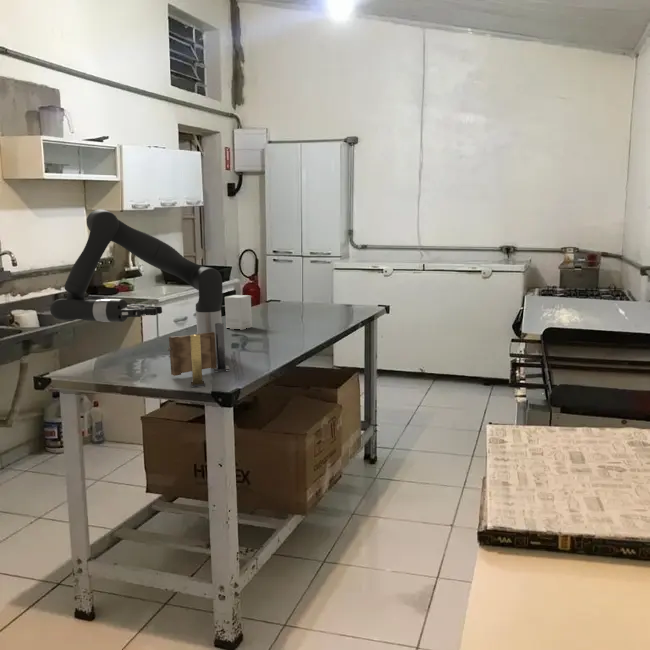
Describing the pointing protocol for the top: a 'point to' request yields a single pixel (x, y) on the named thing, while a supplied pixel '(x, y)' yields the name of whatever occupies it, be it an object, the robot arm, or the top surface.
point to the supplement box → (238, 312)
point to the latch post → (196, 360)
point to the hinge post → (220, 348)
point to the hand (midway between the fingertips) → (158, 310)
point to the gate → (182, 352)
